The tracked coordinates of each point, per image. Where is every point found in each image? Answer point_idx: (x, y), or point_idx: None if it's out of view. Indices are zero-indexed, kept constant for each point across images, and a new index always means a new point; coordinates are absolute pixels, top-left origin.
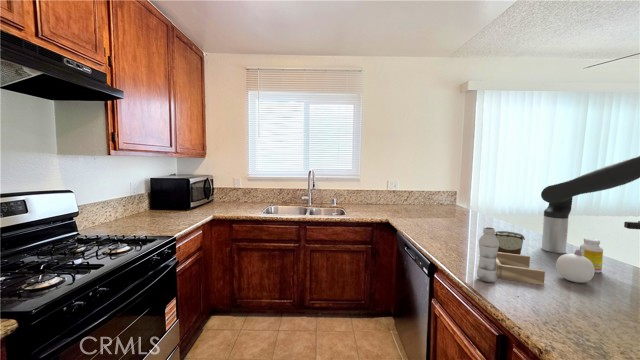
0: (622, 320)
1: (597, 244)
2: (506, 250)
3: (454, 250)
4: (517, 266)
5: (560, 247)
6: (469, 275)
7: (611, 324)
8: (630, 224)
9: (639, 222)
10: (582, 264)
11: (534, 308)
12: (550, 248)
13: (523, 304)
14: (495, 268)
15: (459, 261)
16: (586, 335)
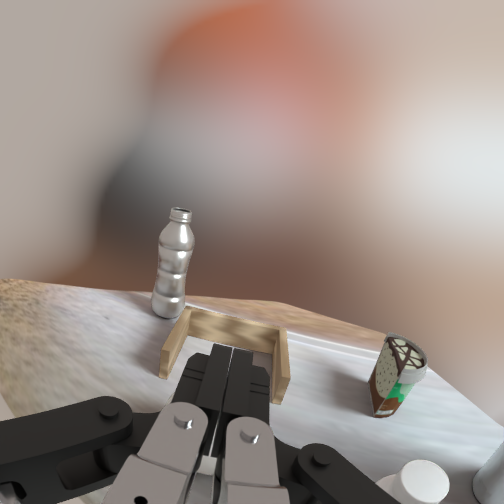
0: (10, 383)
1: (399, 501)
2: (375, 388)
3: (325, 328)
4: (272, 384)
5: (491, 487)
6: (185, 305)
7: (7, 357)
8: (197, 358)
9: (251, 421)
10: (171, 399)
11: (68, 313)
12: (479, 474)
13: (81, 310)
14: (157, 289)
15: (256, 316)
16: (3, 314)
